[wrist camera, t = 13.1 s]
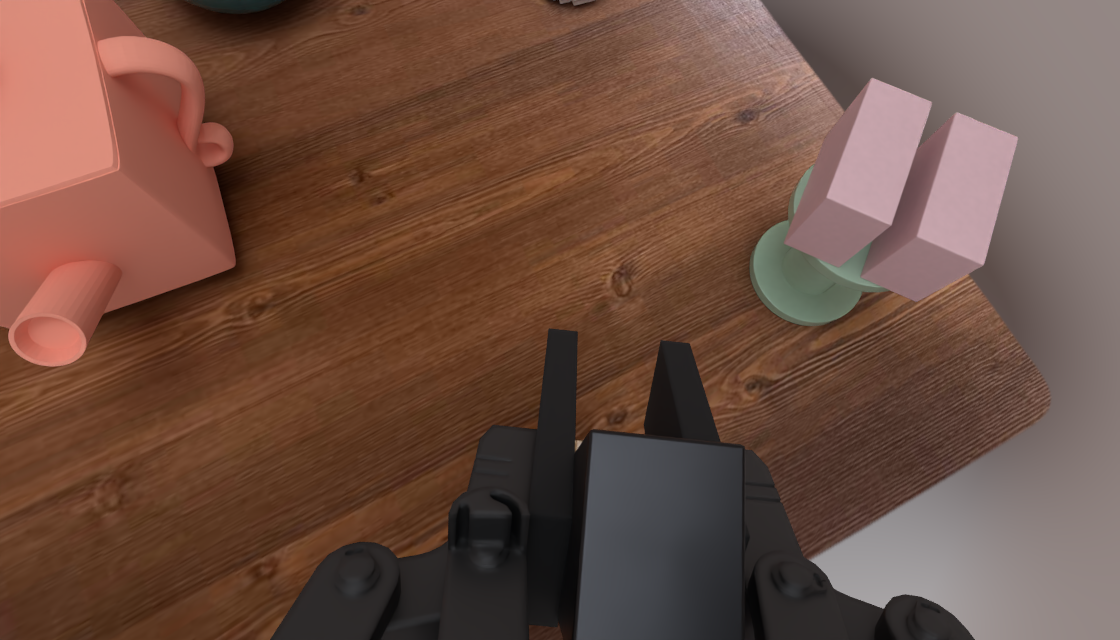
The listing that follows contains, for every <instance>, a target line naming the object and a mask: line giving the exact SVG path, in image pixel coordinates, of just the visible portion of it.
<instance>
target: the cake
mask: <svg viewBox="0 0 1120 640" xmlns="http://www.w3.org/2000/svg"><path fill="white" fill-rule="evenodd" d="M931 106H932V102H930V101H928V100H926V99H923V98H921V97H918V96H916V95H913V94H911V93H908V92H906V91H903V90H901V89H899V88H896V87H894V86H891V85H888V84H886V83H884V82H881V81H879V80H877V79H874V78H871V79H870V80H869V82H868V83H867V84H866V86H865V87H864V88H863V89H862V91H861V92H860V93H859V95H858V96H857V97H856V98H855V100H854V101H853V102H852V104H851V105H850V106H849V107H848V109H847V110H846V111H845V113H844V114H843V115H842V116H841V118H840V119H839V120H838V121H837V123H836V124H835V125H834V127H833V128H832V129H831V130H830V132H829V133H828V134H827V136H826V137H825V139H824V142H823V144H822V147H821V149H820V152H819V154H818V157H817V159H816V162H815V165H814V167H813V170H812V172H811V175H810V177H809V180H808V182H807V185H806V187H805V190H804V192H803V195H802V197H801V200H800V203H799V205H798V208H797V210H796V213H795V215H794V218H793V220H792V223H791V225H790V228H789V230H788V233H787V235H786V238H785V240H784V244H786V245H788V246H790V247H793V248H795V249H797V250H800V251H802V252H804V253H806V254H809V255H811V256H813V257H815V258H818V259H820V260H822V261H825V262H827V263H829V264H831V265H834V266H836V267H840V266H841V265H843V264H844V263H845V262H846V261H848V260H849V259H850V258H851V257H853V256H854V255H855V254H856V253H858V252H859V251H860V250H861V249H863V248H864V247H865V246H866V245H868V244H869V243H870V242H871V241H872V240H873V241H872V244H871V247H870V250H869V253H868V256H867V259H866V261H865V264H864V267H863V270H862V273H861V276H860V277H861V278H863V279H865V280H868V281H870V282H872V283H875V284H877V285H879V286H881V287H884V288H886V289H888V290H890V291H893V292H895V293H897V294H900V295H902V296H904V297H906V298H909V299H911V300H913V301H915V302H918V301H919V300H921V299H923V298H925V297H927V296H928V295H930V294H932V293H934V292H936V291H938V290H939V289H941V288H943V287H945V286H947V285H948V284H950V283H952V282H954V281H956V280H957V279H959V278H961V277H963V276H965V275H967V274H968V273H970V272H972V271H973V270H975V269H977V268H979V267H981V266H983V265H984V262H985V258H986V255H987V251H988V248H989V244H990V240H991V237H992V233H993V229H994V226H995V222H996V218H997V215H998V211H999V207H1000V204H1001V200H1002V196H1003V192H1004V189H1005V185H1006V182H1007V178H1008V174H1009V170H1010V167H1011V163H1012V159H1013V156H1014V152H1015V149H1016V145H1017V141H1018V137H1016V136H1014V135H1012V134H1009V133H1007V132H1004V131H1001V130H999V129H997V128H994V127H992V126H989V125H987V124H985V123H982V122H979V121H977V120H975V119H972V118H970V117H967V116H965V115H962V114H960V113H958V112H956V113H955V114H954V115H953V116H952V117H950V119H948V120H947V121H946V122H945V123H944V124H943V125H942V126H941V127H940V128H939V129H938V130H937V131H936V132H935V133H934V134H933V135H931V136H930V137H929V138H928V139H927V140H926V141H925V142H924V143H923V144H922V145H921V146H920V147H919V148H918V149H917V147H918V144H919V141H920V138H921V135H922V132H923V129H924V126H925V123H926V120H927V118H928V114H929V111H930V109H931Z"/></svg>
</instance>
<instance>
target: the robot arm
mask: <svg viewBox="0 0 1120 640" xmlns="http://www.w3.org/2000/svg"><path fill="white" fill-rule="evenodd" d="M577 337H578V332H577V331H567V330H558V329H549V331H548V340H547V349H546V357H545V366H544V375H543V384H542V393H541V401H540V410H539V419H538V428H537V429H528V428H518V427H508V426H499V425H492V427H491V428H490V429H489V430H488V431H487V432H486V433H485V434H484V435H483V436H482V437H481V438H480V441H479V445H478V449H477V453H476V459H475V461H474V466H473V470H472V474H471V478H470V482H469V486H468V490H467V492H465V493H463V494H461V495H460V496H459V497H458V498H457V499H456V500H455V501H454V502H453V504H452V506H451V509H450V512H449V523H448V541H447V542H446V543H445V544H443V545H442V546H441V547H439V548H437V549H435V550H432V551H430V552H427V553H423V554H420V555H415V556H409V557H403V558H397V557H396V556H395V555H394V553H393V552H392V551H391V550H390V549H389V548H387V547H385V546H382V545H380V544H377V543H371V542H358V543H353V544H349V545H345V546H343V547H341V548H339V549H337V550H336V551H334V552H332V553H330V554H329V555H328V556H327V557H326V558H325V559H324V560H323V561H322V562H321V563H320V564H319V565H318V567H317V568H316V570H315V571H314V573H313V575H312V576H311V578H310V579H309V581H308V582H307V584H306V585H305V587H304V588H303V590H302V591H301V593H300V595H299V596H298V598H297V599H296V601H295V602H294V604H293V605H292V607H291V608H290V610H289V611H288V613H287V615H286V616H285V618H284V619H283V621H282V622H281V624H280V625H279V627H278V628H277V630H276V632H275V633H274V635H273V636H272V638H271V639H270V640H529V625H539V626H549V627H557V626H558V613H559V606H560V599H561V592H562V586H563V579H564V572H565V565H566V559H567V552H568V545H569V538H570V532H571V525H572V514H573V473H574V453H575V427H576V382H577ZM644 429H645V435H654V436H664V437H674V438H683V439H693V440H703V441H712V442H720V439H719V436H718V432H717V429H716V426H715V423H714V420H713V416H712V413H711V410H710V407H709V404H708V401H707V397H706V394H705V391H704V388H703V385H702V381H701V378H700V375H699V372H698V369H697V366H696V362H695V359H694V356H693V353H692V350H691V346H690V343H680V342H671V341H662V340H661V342H660V347H659V352H658V357H657V362H656V367H655V372H654V377H653V382H652V387H651V392H650V397H649V402H648V407H647V412H646V417H645V421H644ZM774 486H775V484H774V482H773V479H772V477H771V474H770V472H769V469H768V467H767V466H766V465H765V464H764V463H763V461H762V460H761V459H760V458H759V457H758V456H757V455H756V454H755V453H754V452H753V451H752V450H745V640H975V639H974V638H973V637H972V635H971V634H970V633H969V631H968V630H967V629H966V628H965V627H964V626H963V625H962V624H961V622H959V620H958V619H957V618H956V617H955V616H954V615H952V614H951V613H950V612H948V611H947V610H945V609H944V608H943V607H941V606H940V605H938V604H936V603H934V602H932V601H929V600H927V599H924V598H922V597H918V596H912V595H901V596H896V597H893V598H892V599H891V600H890V601H889V602H888V604H887V605H886V607H885V608H884V609H882V608H880V607H877V606H874V605H872V604H869V603H866V602H863V601H861V600H858V599H855V598H852V597H850V596H848V595H845V594H843V593H841V592H839V591H837V590H835V589H834V588H833V587H832V585H831V583H830V581H829V579H828V577H827V576H826V574H825V573H824V572H823V571H822V570H821V569H820V568H819V567H818V566H816V564H814V563H813V562H811V561H809V560H808V559H806V558H804V557H803V554H802V552H801V549H800V547H799V544H798V542H797V539H796V537H795V534H794V532H793V529H792V527H791V524H790V522H789V519H788V517H787V514H786V512H785V509H784V507H783V504H782V503H780V497H779V494H778V492H777V489H776V488H775V487H774Z"/></svg>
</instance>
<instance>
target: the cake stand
mask: <svg viewBox="0 0 1120 640" xmlns="http://www.w3.org/2000/svg"><path fill="white" fill-rule="evenodd" d="M814 165H815V164H813V165H812V166H811V167H810V168H809V169H808V170H807V171H806V172H805V173H804V175H803V176H802V177H801V178H800V180H799V181H798V183H797V184H796V185H795V187H794V189H793V191H792V194H791V197H790V200H789V207H788V220H786V221H783V222H780V223H778V224H776V225H774V226H773V227H771V228H770V229H769V230H767V231H766V232H765V233H764V235H763V236H762V237H761V238H760V239H759V241H758V242H757V243H756V245H755V247H754V249H753V251H752V254H751V258H750V267H749V270H750V277H751V281H752V285H753V287H754V290H755V291H756V293H757V295H758V297H759V298H760V300H761V301H762V302H763V303H764V304H765V306H766V307H767V308H768V309H770V310H771V311H772V312H773V313H774V314H776V315H777V316H779V317H781V318H783V319H784V320H786V321H789V322H792V323H795V324H799V325H804V326H819V325H825V324H828V323H831V322H833V321H836V320H837V319H839V318H841V317H842V316H844V315H845V314H847V313H848V312H849V311H850V310H852V308H853V307H854V306H855V305H856V304H857V302H858V300H859V299H860V297H861V294H862V291H863V292H885V291H890V290H888V289H886V288H884V287H881V286H879V285H877V284H875V283H872V282H870V281H868V280H865V279H863V278H861V277H860V276H861V273H862V270H863V267H864V264H865V261H866V259H867V256H868V253H869V250H870V247H871V244H872V241H873V240H872V241H871V242H870V243H869V244H868V245H866V246H865V247H864V248H863V249H861V250H860V251H859V252H858V253H856V254H855V255H854V256H853V257H851V258H850V259H849V260H848V261H846V262H845V263H844V264H843V265H841V266H840V267H836V266H834V265H831V264H829V263H827V262H825V261H822V260H820V259H818V258H815V257H813V256H811V255H809V254H806V253H804V252H802V251H800V250H797V249H795V248H793V247H790V246H788V245H786V244H784V240H785V238H786V235H787V233H788V230H789V228H790V225H791V223H792V220H793V218H794V215H795V213H796V210H797V208H798V205H799V203H800V200H801V197H802V195H803V192H804V190H805V187H806V185H807V182H808V180H809V177H810V175H811V172H812V170H813V167H814Z"/></svg>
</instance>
